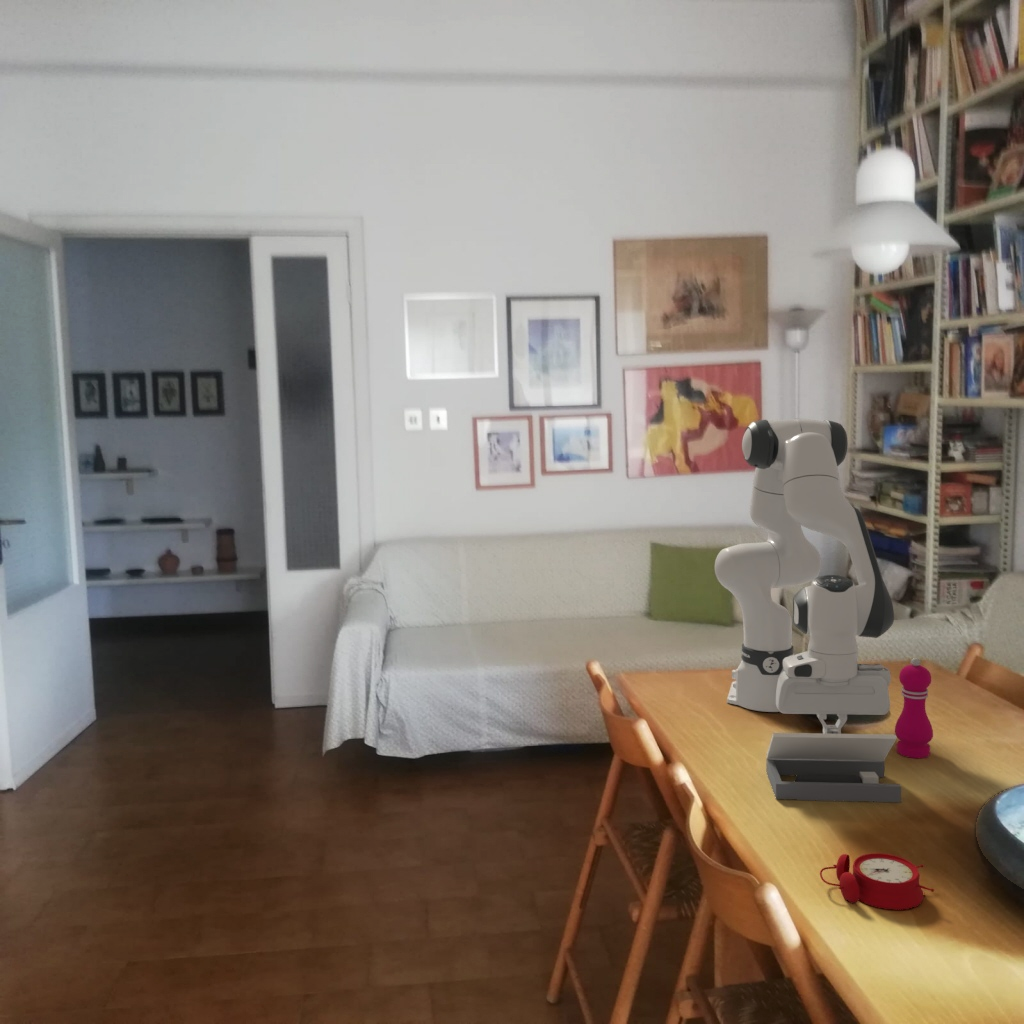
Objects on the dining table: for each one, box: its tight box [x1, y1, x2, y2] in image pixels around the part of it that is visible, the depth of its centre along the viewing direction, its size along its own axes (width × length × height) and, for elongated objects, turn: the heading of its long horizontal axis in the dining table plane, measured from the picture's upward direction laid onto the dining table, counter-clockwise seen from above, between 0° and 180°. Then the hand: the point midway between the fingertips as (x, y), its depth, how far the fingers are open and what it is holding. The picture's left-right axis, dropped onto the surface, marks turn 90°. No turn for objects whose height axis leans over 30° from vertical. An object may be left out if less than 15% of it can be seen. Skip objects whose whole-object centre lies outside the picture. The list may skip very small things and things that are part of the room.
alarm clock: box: [819, 852, 935, 911], centre depth 142 cm, size 10×6×15 cm
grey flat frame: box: [765, 757, 902, 803], centre depth 179 cm, size 12×22×3 cm, turn 83°
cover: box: [766, 732, 898, 762], centre depth 180 cm, size 11×22×1 cm
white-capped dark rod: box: [794, 772, 880, 784], centre depth 179 cm, size 15×3×3 cm, turn 84°
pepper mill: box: [894, 657, 934, 759], centre depth 193 cm, size 7×7×20 cm
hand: (831, 735), depth 178 cm, fingers closed, pressing on cover
